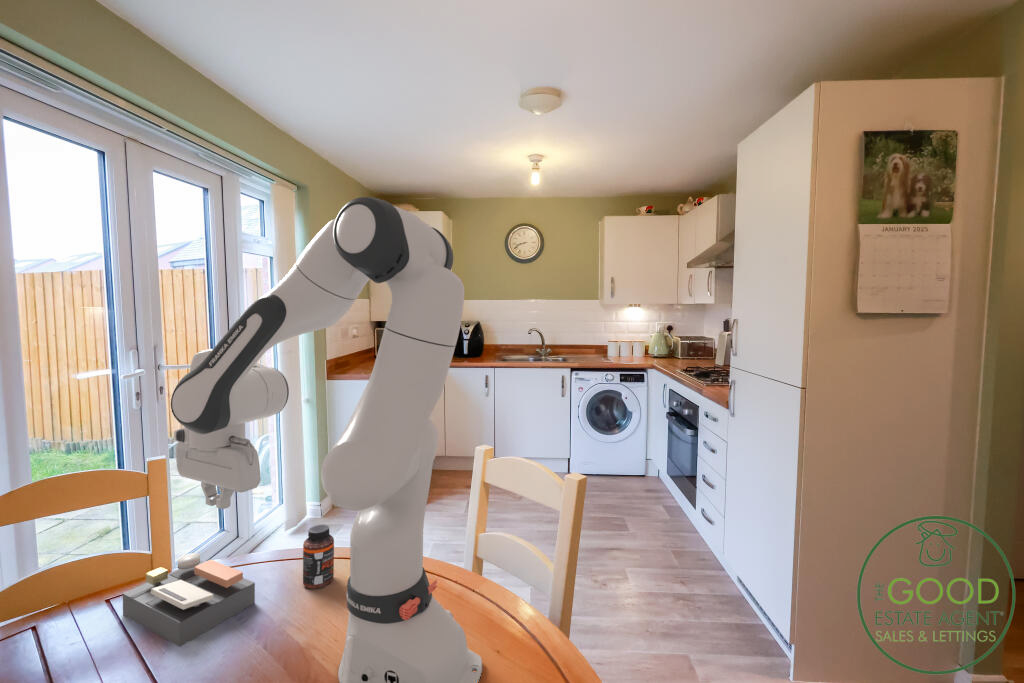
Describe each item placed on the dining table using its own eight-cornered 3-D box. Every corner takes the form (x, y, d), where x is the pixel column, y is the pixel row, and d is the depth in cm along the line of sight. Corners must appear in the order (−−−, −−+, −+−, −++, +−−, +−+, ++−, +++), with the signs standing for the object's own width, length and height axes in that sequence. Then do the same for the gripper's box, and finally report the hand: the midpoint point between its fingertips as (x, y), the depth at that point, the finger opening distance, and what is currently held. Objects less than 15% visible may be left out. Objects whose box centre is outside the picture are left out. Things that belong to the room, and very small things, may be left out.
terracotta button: (242, 579, 83) (242, 572, 83) (226, 587, 80) (226, 580, 80) (210, 566, 87) (210, 559, 87) (194, 574, 84) (194, 566, 84)
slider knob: (168, 583, 83) (167, 570, 83) (153, 589, 81) (153, 576, 81) (160, 579, 84) (160, 567, 84) (146, 586, 82) (146, 573, 82)
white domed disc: (204, 562, 89) (204, 555, 88) (184, 571, 85) (184, 564, 85) (193, 558, 90) (193, 551, 90) (173, 566, 87) (173, 559, 87)
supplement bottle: (326, 590, 89) (326, 535, 88) (297, 590, 89) (297, 534, 89) (338, 574, 95) (338, 522, 94) (311, 573, 95) (311, 521, 95)
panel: (255, 603, 84) (255, 582, 84) (179, 646, 73) (179, 622, 73) (199, 578, 92) (198, 559, 92) (122, 614, 81) (122, 592, 80)
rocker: (212, 601, 78) (213, 593, 78) (182, 612, 74) (184, 603, 74) (179, 586, 82) (181, 579, 82) (150, 595, 78) (151, 588, 78)
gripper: (269, 436, 81) (269, 510, 82) (203, 424, 90) (204, 491, 90) (235, 444, 75) (236, 523, 76) (168, 430, 84) (169, 502, 85)
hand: (218, 506), depth 83 cm, fingers closed
